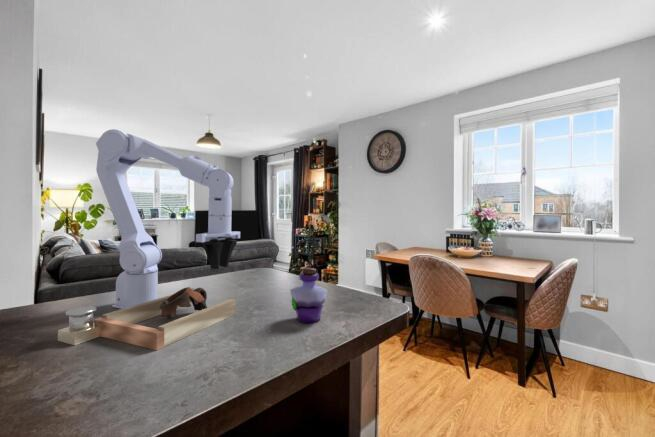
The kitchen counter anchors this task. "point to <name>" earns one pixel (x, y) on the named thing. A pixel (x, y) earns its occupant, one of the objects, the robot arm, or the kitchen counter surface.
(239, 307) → the kitchen counter surface
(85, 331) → the winch drum
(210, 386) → the kitchen counter surface
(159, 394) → the kitchen counter surface
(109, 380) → the kitchen counter surface
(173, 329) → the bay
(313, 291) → the potion bottle
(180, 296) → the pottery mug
